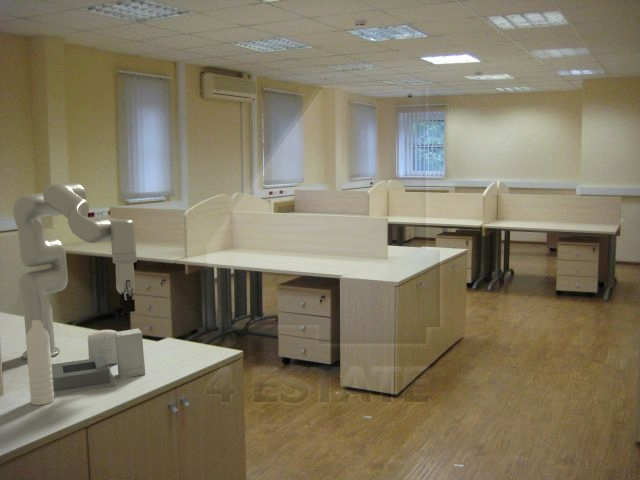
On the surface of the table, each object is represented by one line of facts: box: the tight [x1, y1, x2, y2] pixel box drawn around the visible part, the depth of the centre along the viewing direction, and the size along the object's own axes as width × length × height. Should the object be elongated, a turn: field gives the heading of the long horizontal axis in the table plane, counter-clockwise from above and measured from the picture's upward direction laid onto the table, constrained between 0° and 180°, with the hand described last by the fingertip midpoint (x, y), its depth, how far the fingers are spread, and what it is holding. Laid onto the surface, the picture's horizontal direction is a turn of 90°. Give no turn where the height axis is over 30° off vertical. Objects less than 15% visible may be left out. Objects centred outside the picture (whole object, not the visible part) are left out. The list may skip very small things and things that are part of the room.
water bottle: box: [25, 320, 55, 406], centre depth 193 cm, size 9×6×25 cm
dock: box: [51, 357, 117, 397], centre depth 211 cm, size 18×20×5 cm
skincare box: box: [115, 328, 146, 379], centre depth 217 cm, size 8×6×15 cm
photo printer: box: [87, 329, 118, 366], centre depth 228 cm, size 10×4×12 cm, turn 123°
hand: (127, 308), depth 215 cm, fingers open, 9 cm apart
